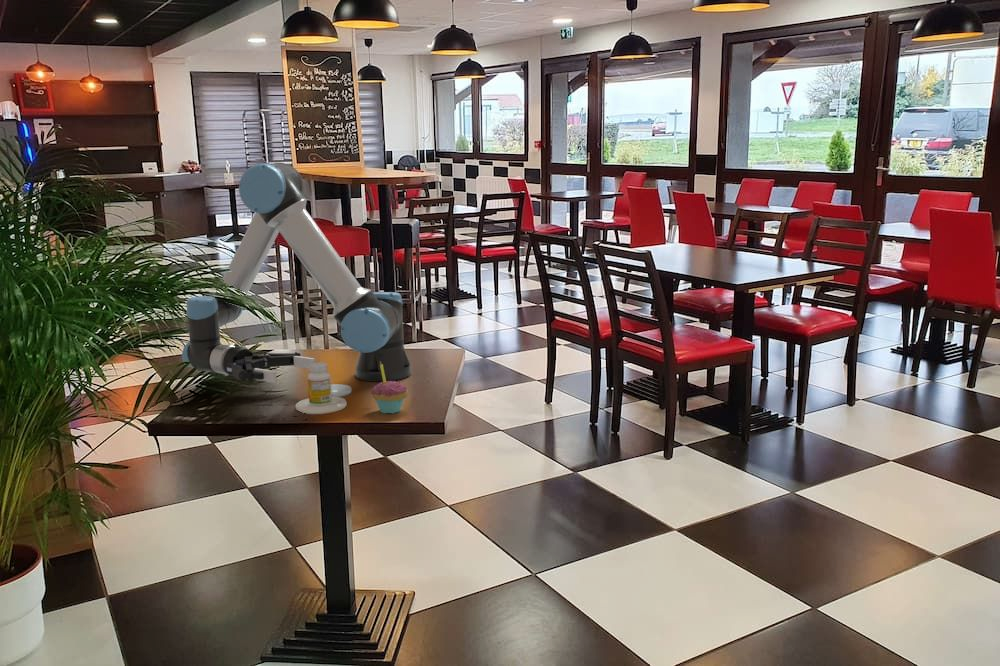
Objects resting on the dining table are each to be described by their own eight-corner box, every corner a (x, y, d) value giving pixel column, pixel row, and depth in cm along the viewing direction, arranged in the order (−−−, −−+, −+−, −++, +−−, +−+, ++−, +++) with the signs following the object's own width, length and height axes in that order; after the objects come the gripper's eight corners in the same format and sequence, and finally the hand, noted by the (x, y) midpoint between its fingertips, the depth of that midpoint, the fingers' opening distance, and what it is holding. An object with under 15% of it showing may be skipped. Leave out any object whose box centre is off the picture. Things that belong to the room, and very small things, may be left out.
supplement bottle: (313, 399, 199) (311, 361, 197) (335, 400, 198) (332, 361, 196) (306, 406, 194) (303, 366, 192) (328, 406, 193) (325, 367, 191)
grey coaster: (343, 385, 214) (343, 382, 214) (357, 394, 206) (357, 391, 206) (306, 391, 209) (306, 388, 209) (318, 400, 201) (318, 397, 201)
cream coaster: (336, 396, 204) (336, 393, 204) (353, 408, 194) (353, 405, 194) (289, 404, 198) (289, 401, 198) (304, 417, 188) (304, 414, 188)
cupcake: (368, 415, 189) (365, 365, 186) (378, 404, 197) (375, 356, 195) (403, 416, 188) (401, 366, 185) (412, 405, 196) (410, 357, 193)
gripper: (269, 363, 220) (330, 373, 209) (195, 387, 198) (258, 398, 188) (267, 336, 218) (328, 344, 208) (192, 357, 197) (256, 367, 187)
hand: (295, 370), depth 198 cm, fingers open, 13 cm apart
